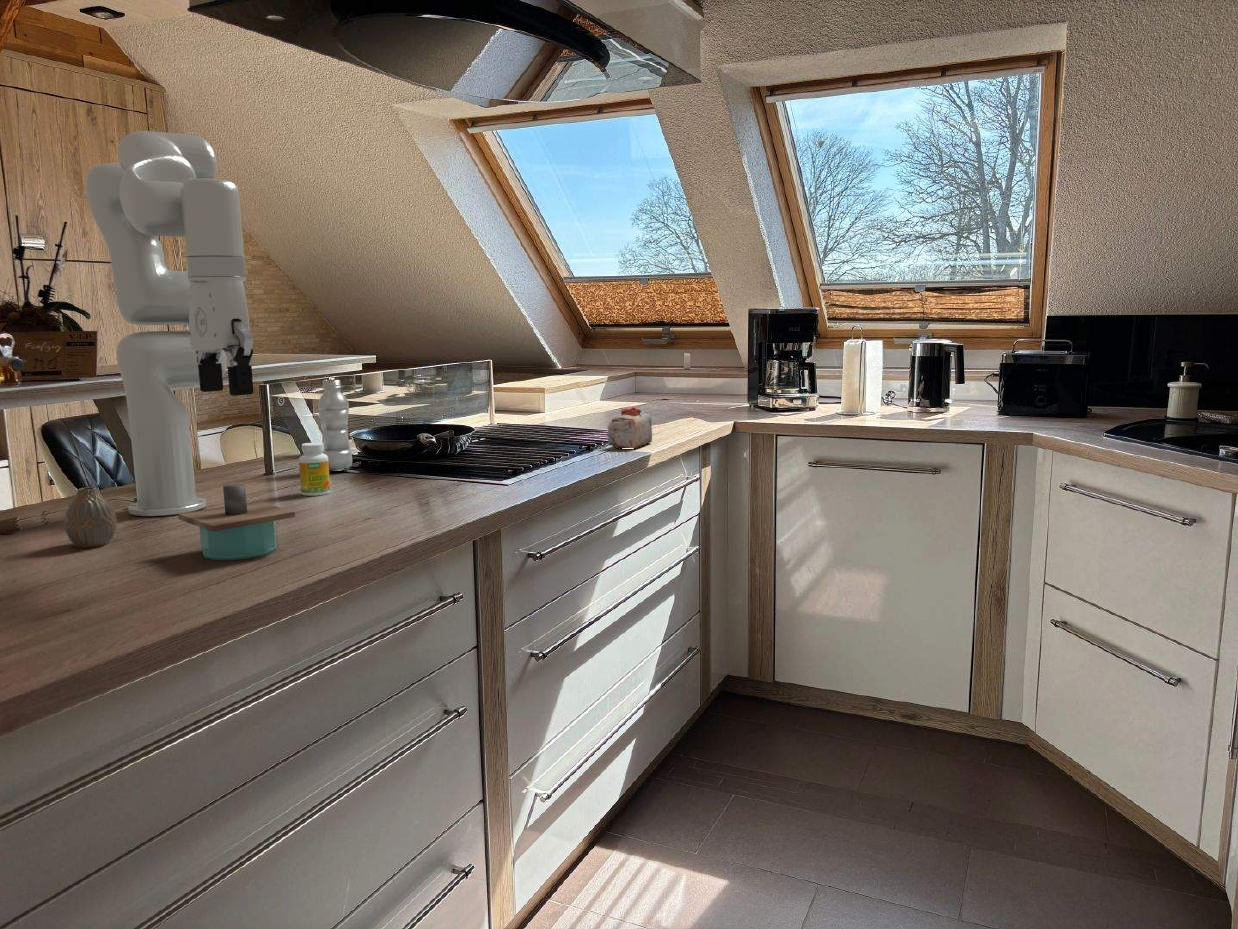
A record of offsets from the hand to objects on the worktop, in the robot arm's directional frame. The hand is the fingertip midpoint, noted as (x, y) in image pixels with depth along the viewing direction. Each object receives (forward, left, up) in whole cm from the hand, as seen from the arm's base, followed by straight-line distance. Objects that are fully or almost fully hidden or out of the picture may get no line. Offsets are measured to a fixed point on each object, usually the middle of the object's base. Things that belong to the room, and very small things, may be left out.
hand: (226, 392), depth 136 cm
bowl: (0, 0, -23) cm, 23 cm away
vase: (-22, -13, -24) cm, 34 cm away
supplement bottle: (-33, +30, -24) cm, 50 cm away
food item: (-27, +113, -24) cm, 119 cm away
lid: (0, 0, -18) cm, 18 cm away
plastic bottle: (-53, +46, -24) cm, 74 cm away
